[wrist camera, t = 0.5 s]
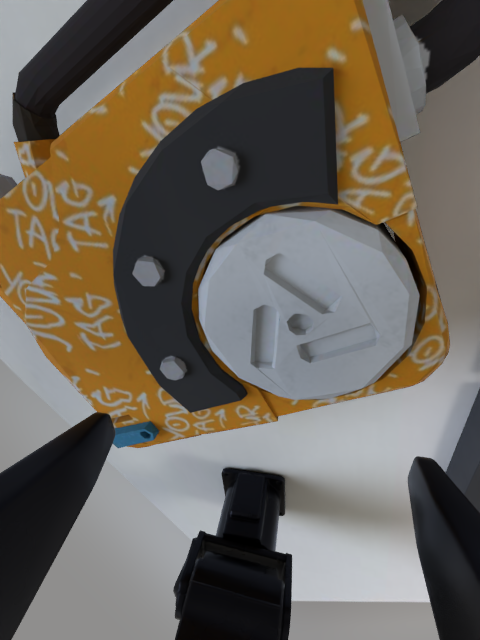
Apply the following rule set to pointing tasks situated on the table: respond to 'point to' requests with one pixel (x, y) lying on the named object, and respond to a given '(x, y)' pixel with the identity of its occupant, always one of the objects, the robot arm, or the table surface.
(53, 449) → the robot arm
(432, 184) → the table surface
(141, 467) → the table surface
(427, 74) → the device
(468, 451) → the panel
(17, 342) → the table surface
